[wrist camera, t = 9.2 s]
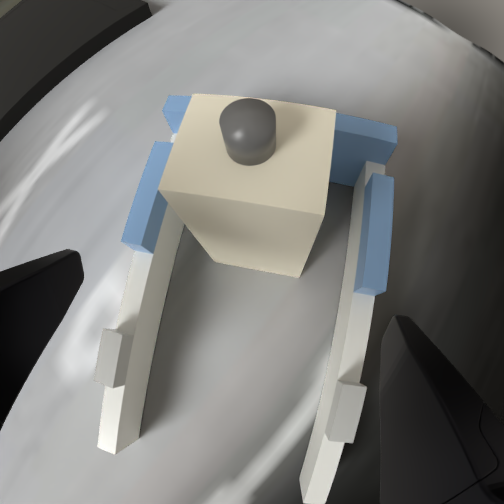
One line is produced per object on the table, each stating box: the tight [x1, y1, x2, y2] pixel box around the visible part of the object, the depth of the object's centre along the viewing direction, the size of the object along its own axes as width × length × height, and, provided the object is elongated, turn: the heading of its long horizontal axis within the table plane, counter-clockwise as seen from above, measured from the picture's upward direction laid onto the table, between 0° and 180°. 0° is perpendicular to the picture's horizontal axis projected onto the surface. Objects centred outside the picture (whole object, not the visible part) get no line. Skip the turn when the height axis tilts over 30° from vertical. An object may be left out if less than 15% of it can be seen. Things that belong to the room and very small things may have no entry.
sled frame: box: [94, 96, 397, 504], centre depth 14 cm, size 18×11×5 cm, turn 168°
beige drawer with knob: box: [158, 94, 336, 278], centre depth 12 cm, size 4×4×10 cm
